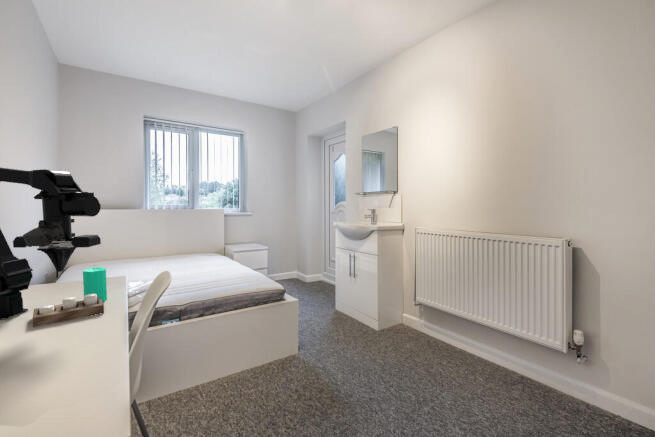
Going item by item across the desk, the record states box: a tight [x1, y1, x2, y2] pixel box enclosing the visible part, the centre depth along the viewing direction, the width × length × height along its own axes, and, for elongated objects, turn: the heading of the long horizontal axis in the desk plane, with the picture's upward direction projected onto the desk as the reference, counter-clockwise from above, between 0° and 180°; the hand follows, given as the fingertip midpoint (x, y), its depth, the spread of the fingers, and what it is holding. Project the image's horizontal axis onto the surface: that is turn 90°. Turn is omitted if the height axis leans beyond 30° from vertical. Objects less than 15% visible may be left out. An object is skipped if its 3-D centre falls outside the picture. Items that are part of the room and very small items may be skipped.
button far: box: [83, 294, 97, 306], centre depth 89 cm, size 3×3×3 cm
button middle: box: [62, 296, 77, 310], centre depth 86 cm, size 3×3×3 cm
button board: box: [32, 298, 105, 328], centre depth 86 cm, size 15×8×3 cm, turn 132°
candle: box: [82, 264, 108, 303], centre depth 98 cm, size 6×6×12 cm
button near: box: [38, 304, 55, 314], centre depth 83 cm, size 3×3×3 cm
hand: (60, 271), depth 84 cm, fingers closed
